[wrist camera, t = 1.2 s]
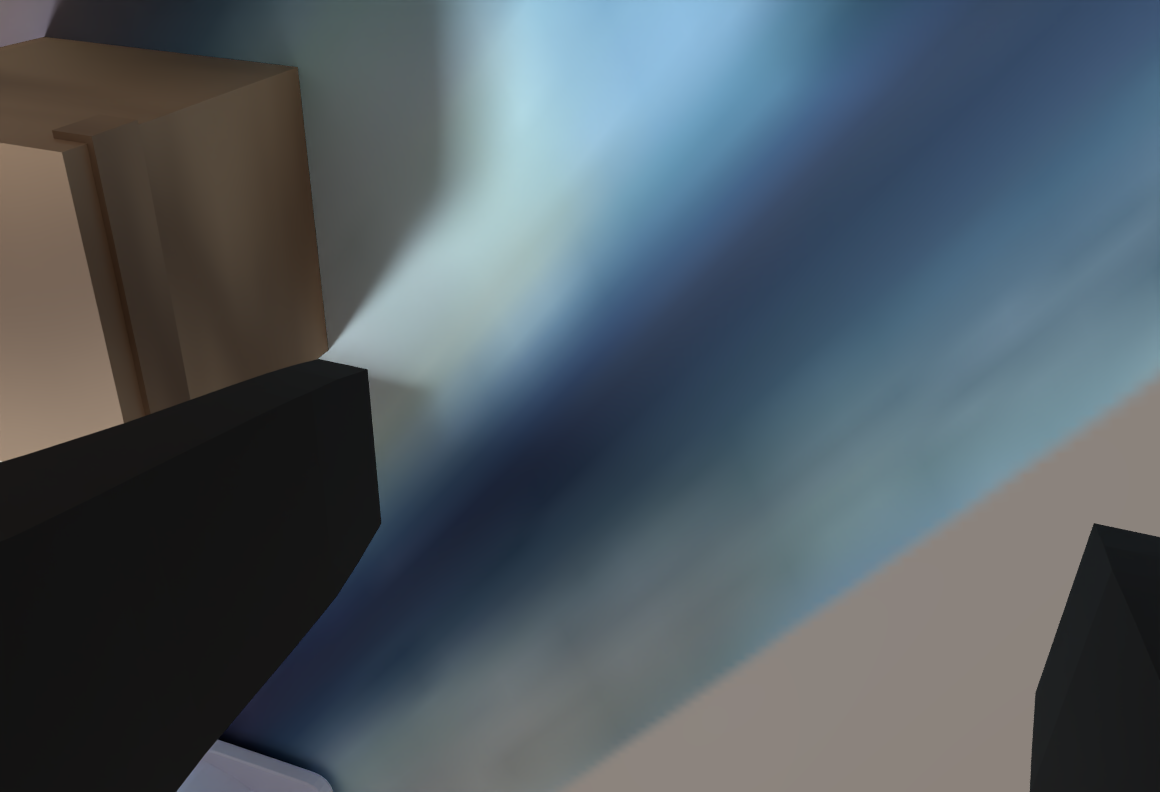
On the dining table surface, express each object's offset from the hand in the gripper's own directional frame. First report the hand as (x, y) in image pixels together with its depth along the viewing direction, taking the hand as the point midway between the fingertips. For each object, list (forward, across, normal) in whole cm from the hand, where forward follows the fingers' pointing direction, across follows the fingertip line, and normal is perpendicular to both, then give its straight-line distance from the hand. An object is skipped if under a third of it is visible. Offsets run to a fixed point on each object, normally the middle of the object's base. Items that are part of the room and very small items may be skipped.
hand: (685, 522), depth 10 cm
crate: (+6, +11, 0) cm, 12 cm away
